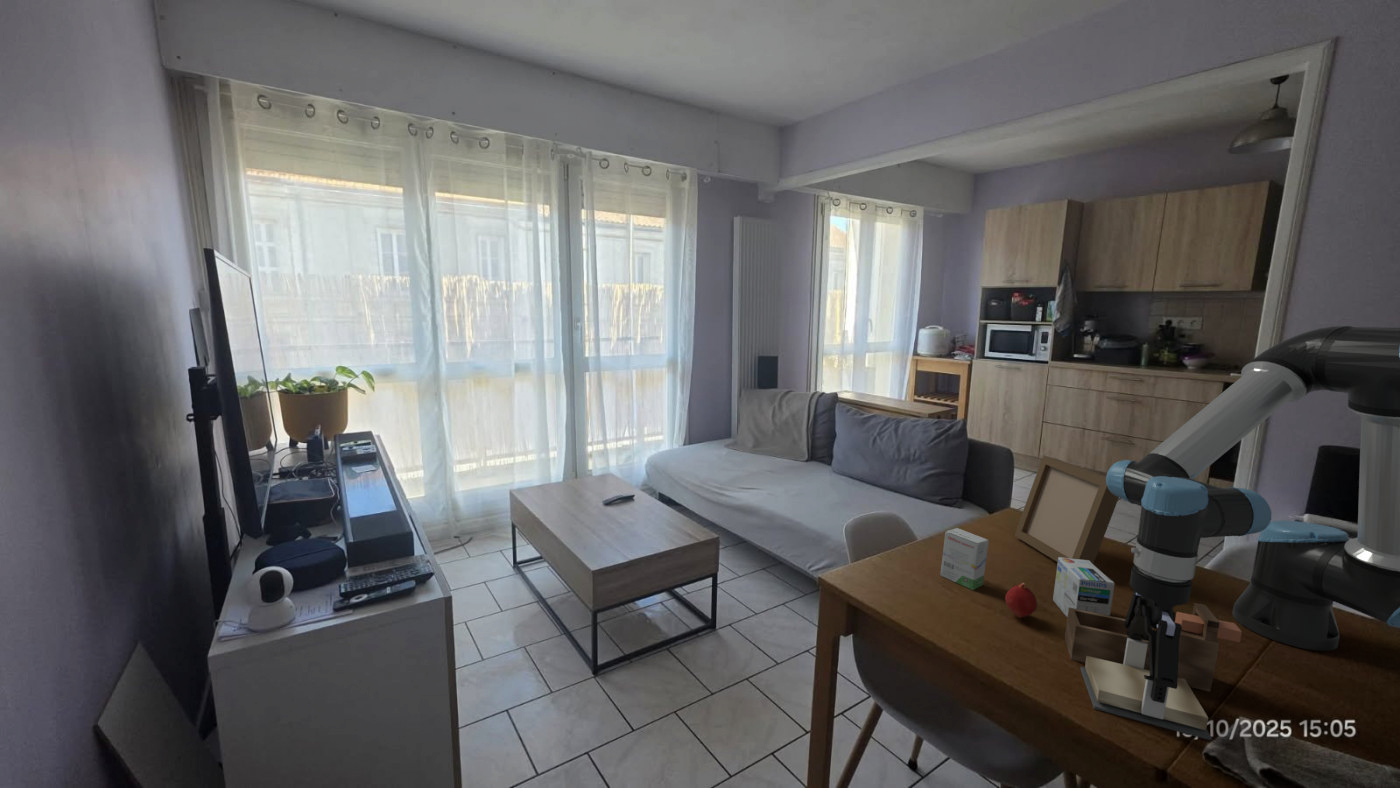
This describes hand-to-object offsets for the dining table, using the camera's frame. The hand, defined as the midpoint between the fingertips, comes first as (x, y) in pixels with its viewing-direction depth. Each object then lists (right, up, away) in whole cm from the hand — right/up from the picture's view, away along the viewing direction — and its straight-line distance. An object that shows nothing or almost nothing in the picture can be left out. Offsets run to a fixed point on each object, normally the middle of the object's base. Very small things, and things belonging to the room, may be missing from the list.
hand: (1141, 693), depth 91 cm
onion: (-6, +3, +25) cm, 26 cm away
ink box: (-11, +5, +40) cm, 42 cm away
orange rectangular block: (+15, +9, +4) cm, 18 cm away
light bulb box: (+8, +2, +26) cm, 27 cm away
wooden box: (+6, 0, +10) cm, 12 cm away
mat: (0, -1, 0) cm, 2 cm away
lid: (0, 0, 0) cm, 0 cm away
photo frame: (+25, +7, +54) cm, 60 cm away
